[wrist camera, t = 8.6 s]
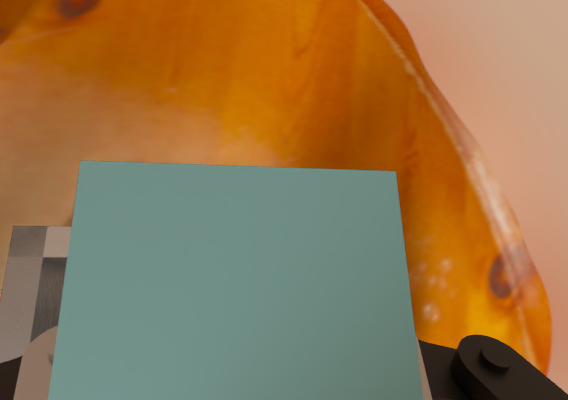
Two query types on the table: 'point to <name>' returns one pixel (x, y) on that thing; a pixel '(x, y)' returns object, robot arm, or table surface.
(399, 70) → the table surface
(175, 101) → the table surface
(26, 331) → the tray
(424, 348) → the robot arm
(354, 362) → the sage green tall box
